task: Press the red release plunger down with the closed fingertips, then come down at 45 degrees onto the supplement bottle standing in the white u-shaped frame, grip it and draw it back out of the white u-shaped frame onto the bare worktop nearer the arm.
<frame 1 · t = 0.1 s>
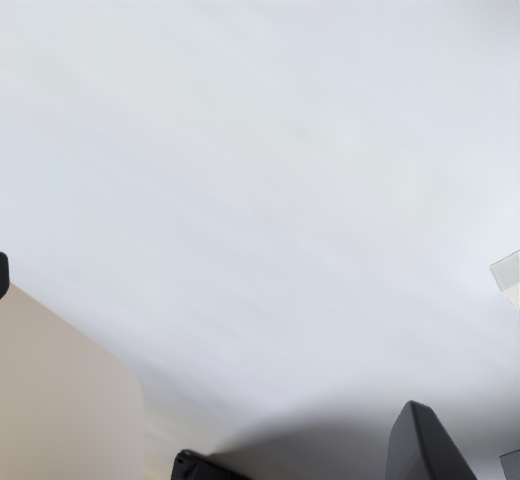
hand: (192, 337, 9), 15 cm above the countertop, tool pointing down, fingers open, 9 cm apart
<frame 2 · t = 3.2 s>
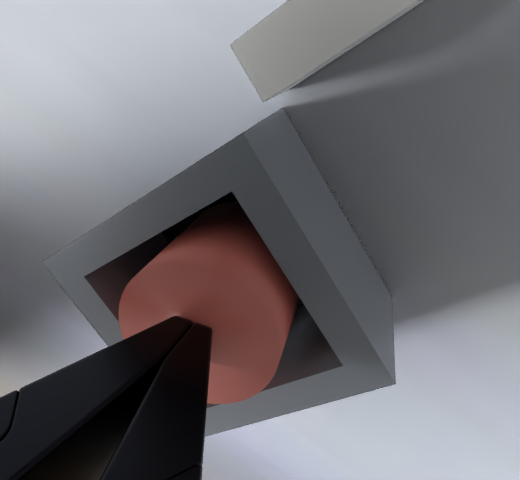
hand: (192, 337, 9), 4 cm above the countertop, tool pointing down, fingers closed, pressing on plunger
plunger block: (250, 251, 13), on the countertop
plunger: (223, 294, 10), point 2 cm above the countertop, slide at 1.0 cm, touching gripper
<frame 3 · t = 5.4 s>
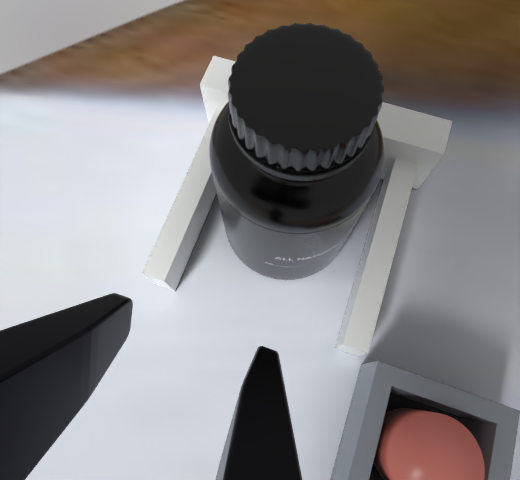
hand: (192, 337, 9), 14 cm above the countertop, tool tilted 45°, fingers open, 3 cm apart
supplement bottle: (286, 225, 24), resting in white u-shaped frame
plunger block: (405, 447, 20), on the countertop
plunger: (422, 454, 18), point 2 cm above the countertop, slide at 1.2 cm
white u-shaped frame: (286, 223, 24), on the countertop
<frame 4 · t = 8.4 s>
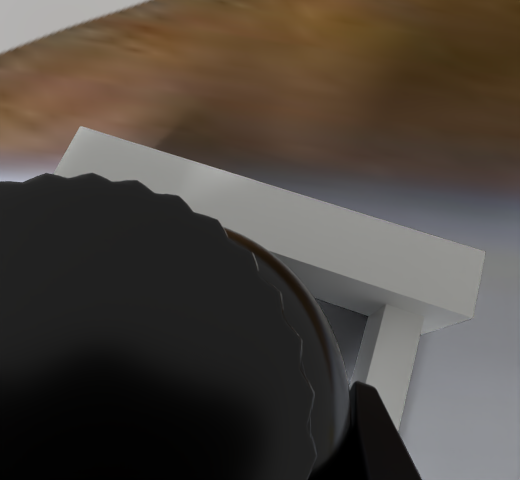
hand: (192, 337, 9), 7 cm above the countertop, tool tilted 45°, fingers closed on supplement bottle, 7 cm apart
supplement bottle: (209, 395, 15), resting in white u-shaped frame, touching gripper
white u-shaped frame: (209, 395, 15), on the countertop
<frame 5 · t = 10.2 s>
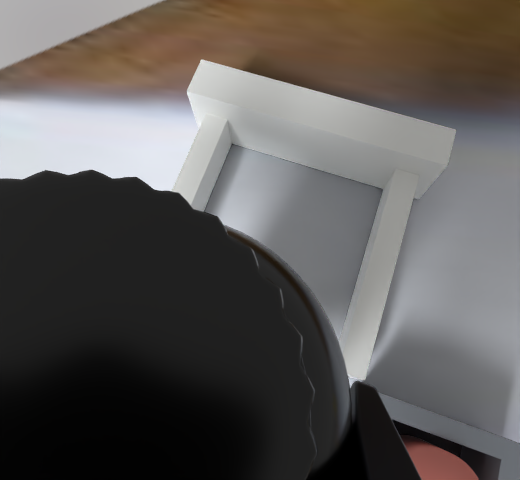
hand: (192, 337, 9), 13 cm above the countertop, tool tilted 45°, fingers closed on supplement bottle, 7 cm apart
supplement bottle: (210, 394, 15), point 6 cm above the countertop, touching gripper
plunger block: (404, 476, 19), on the countertop
white u-shaped frame: (280, 237, 23), on the countertop
when the fingers open (8 cm above the countertop, at t = 11.9 s): supplement bottle drops 1 cm, on the countertop.
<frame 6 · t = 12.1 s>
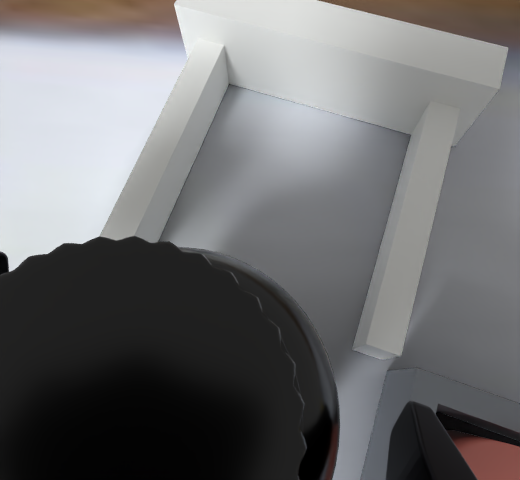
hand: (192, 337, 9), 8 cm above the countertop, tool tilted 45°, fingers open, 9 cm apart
supplement bottle: (215, 398, 16), on the countertop
white u-shaped frame: (288, 190, 19), on the countertop
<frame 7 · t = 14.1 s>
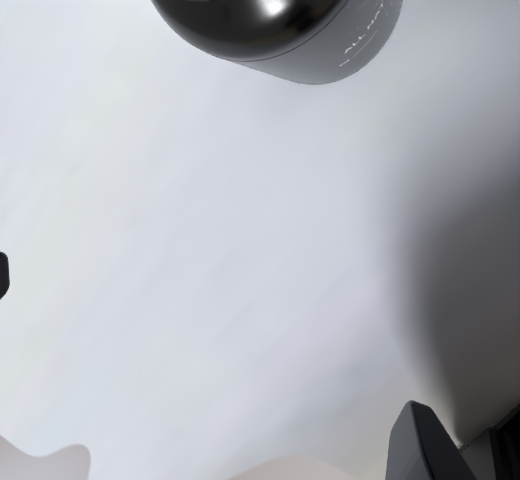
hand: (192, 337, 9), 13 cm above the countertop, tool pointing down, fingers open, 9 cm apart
supplement bottle: (325, 2, 18), on the countertop
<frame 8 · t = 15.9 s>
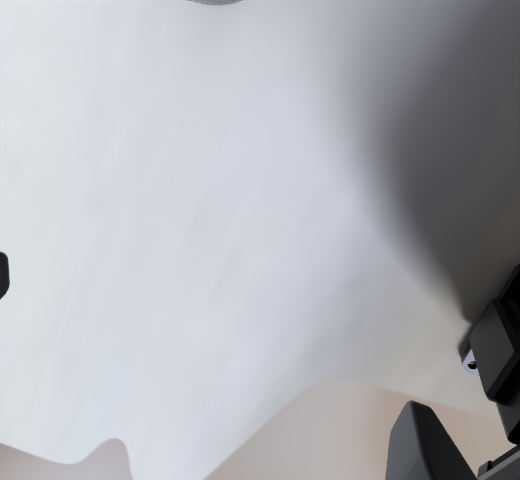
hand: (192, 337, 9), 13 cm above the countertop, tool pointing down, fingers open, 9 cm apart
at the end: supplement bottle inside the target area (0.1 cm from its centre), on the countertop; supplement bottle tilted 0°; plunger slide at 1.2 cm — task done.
